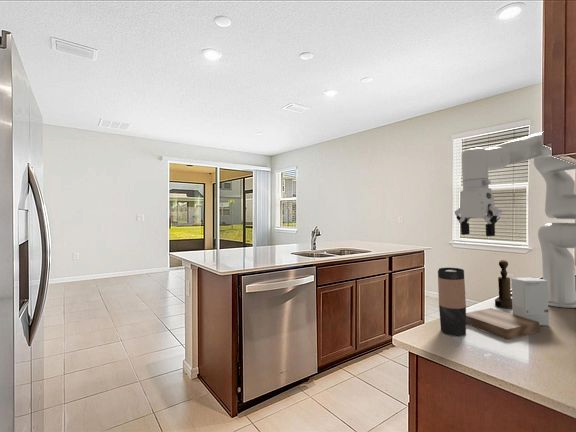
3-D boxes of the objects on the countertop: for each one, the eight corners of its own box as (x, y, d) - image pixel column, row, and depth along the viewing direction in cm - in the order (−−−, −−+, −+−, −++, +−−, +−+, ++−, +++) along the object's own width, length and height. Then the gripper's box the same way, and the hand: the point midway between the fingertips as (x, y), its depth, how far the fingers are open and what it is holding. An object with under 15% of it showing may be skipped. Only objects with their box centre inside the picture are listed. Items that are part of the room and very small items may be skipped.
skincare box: (525, 327, 102) (523, 281, 102) (511, 320, 108) (509, 277, 108) (550, 325, 102) (548, 279, 102) (535, 319, 108) (533, 276, 108)
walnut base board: (491, 316, 113) (491, 308, 113) (539, 331, 98) (539, 322, 98) (461, 322, 108) (461, 313, 108) (507, 339, 93) (506, 329, 93)
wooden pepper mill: (509, 303, 126) (507, 258, 126) (519, 308, 120) (517, 261, 120) (491, 303, 127) (489, 259, 127) (501, 308, 121) (499, 261, 120)
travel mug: (472, 334, 98) (470, 270, 98) (451, 338, 96) (448, 272, 96) (454, 326, 105) (452, 266, 105) (434, 329, 104) (432, 268, 103)
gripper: (508, 182, 101) (510, 235, 101) (462, 187, 117) (464, 233, 117) (490, 182, 98) (492, 237, 99) (446, 187, 115) (448, 234, 115)
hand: (477, 235), depth 108 cm, fingers open, 9 cm apart
